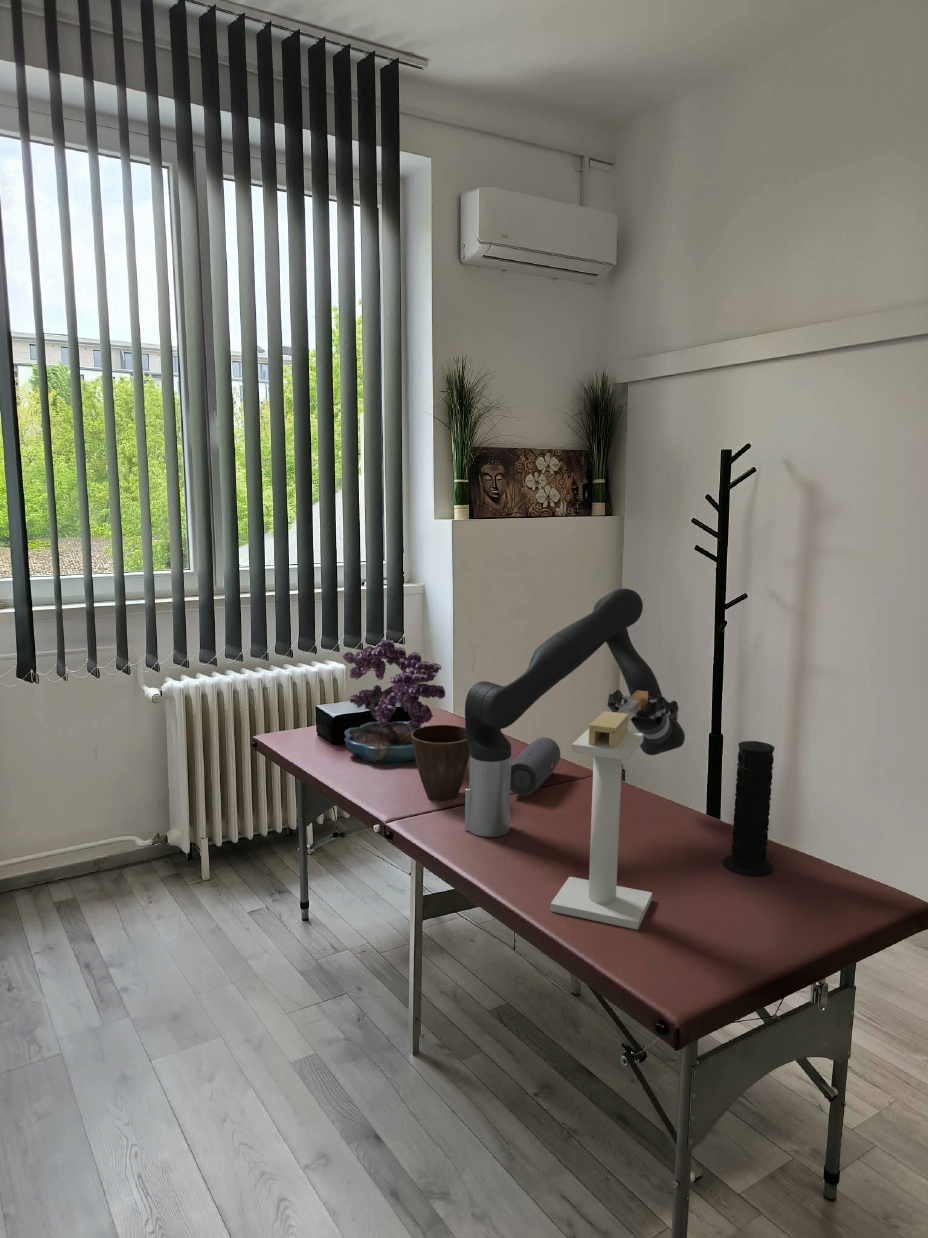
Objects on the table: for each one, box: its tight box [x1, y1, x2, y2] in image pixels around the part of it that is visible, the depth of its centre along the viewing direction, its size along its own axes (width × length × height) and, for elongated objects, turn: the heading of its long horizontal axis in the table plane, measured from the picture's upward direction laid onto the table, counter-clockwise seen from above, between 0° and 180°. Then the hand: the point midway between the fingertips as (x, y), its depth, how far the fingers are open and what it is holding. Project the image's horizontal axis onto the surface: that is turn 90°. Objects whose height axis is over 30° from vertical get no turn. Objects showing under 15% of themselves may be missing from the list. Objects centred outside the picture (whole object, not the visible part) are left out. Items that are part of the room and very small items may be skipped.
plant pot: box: [411, 724, 469, 802], centre depth 218 cm, size 15×15×16 cm
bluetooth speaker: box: [510, 737, 561, 796], centre depth 227 cm, size 23×9×10 cm, turn 160°
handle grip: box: [722, 740, 776, 878], centre depth 180 cm, size 10×26×10 cm
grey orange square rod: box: [617, 690, 648, 723], centre depth 174 cm, size 2×25×2 cm, turn 157°
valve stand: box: [550, 710, 653, 931], centre depth 162 cm, size 16×12×36 cm
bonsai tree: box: [342, 638, 446, 764], centre depth 247 cm, size 35×27×32 cm
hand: (637, 696), depth 180 cm, fingers open, 8 cm apart
